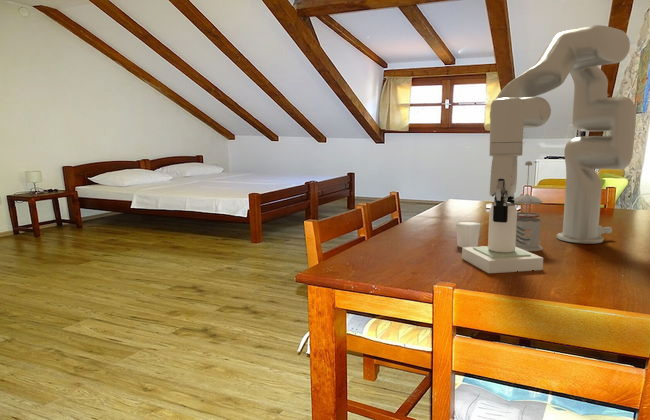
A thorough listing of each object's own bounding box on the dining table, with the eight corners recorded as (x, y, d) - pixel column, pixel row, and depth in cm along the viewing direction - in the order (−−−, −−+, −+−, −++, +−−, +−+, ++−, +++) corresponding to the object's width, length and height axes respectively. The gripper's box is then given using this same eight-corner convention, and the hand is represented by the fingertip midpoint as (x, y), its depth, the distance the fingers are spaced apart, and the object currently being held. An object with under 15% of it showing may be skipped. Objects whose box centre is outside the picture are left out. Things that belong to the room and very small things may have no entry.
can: (483, 247, 118) (485, 202, 116) (507, 247, 118) (509, 201, 117) (494, 254, 111) (497, 205, 110) (520, 253, 112) (522, 205, 110)
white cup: (481, 249, 131) (482, 225, 130) (456, 248, 132) (457, 224, 131) (478, 243, 137) (478, 220, 136) (454, 243, 139) (455, 220, 138)
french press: (527, 252, 126) (532, 162, 122) (494, 244, 136) (497, 160, 132) (550, 248, 130) (555, 161, 126) (516, 240, 140) (520, 159, 137)
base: (510, 255, 123) (511, 243, 122) (542, 269, 109) (543, 256, 109) (461, 258, 121) (462, 245, 120) (488, 273, 107) (489, 259, 107)
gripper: (496, 148, 120) (494, 211, 123) (482, 151, 105) (480, 223, 108) (527, 147, 116) (524, 213, 119) (516, 151, 102) (514, 226, 104)
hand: (503, 218), depth 114 cm, fingers open, 9 cm apart
